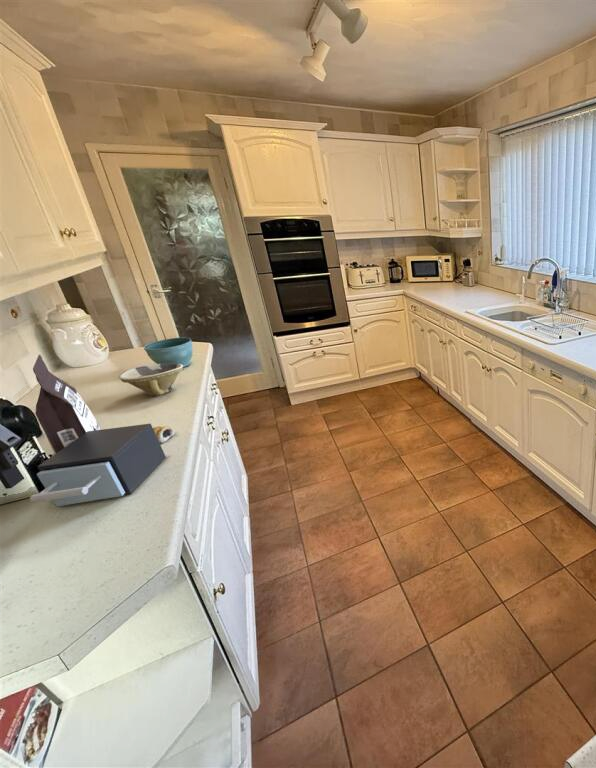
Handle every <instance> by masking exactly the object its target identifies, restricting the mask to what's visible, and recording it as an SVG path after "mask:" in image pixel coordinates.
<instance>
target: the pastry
mask: <svg viewBox="0 0 596 768" xmlns="http://www.w3.org/2000/svg"><path fill="white" fill-rule="evenodd" d="M152 428H153V430H154V432H155V434H156V436H157V439H158V441H159V443H160V444H164V443H165V442H166V441H168V440H169V439H170V438H172V436H174V435H175V434H176V430H175V429H174V427H172V426H169V425H166V426H159V425H158V426H155V427H152Z"/></svg>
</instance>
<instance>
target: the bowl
mask: <svg viewBox="0 0 596 768" xmlns="http://www.w3.org/2000/svg"><path fill="white" fill-rule="evenodd" d="M183 369H184V367H183V365H182V364H176V363H162V364H157V363H154V364H148V365H142V366H138V367H137V366H136V367H134V368H130V369H128V370H126V371H124V372H123V373H121V374H120V375H119V376H118V379H119V380H120V381H121V382H122V383H127V384H129V385H131V386H133V387H135V388H137V389H139V390H141V391H143V392H144V393H146V394H147V395H148V396H152V397H154V396H158V397H159V396H162V395H165V394H167V393H171V392H172V390H173V384H174V383H175V381H176V379H177V378H178V375H179V374H180V372H181V371H182V370H183Z"/></svg>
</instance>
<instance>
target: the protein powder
mask: <svg viewBox="0 0 596 768" xmlns="http://www.w3.org/2000/svg"><path fill="white" fill-rule="evenodd" d="M32 372H33V374H34V375H35V379H36V381H37V383H38V385H39V387H40V389H39V394H38V398H37V401H36V404H35V416H36V419H37V420H38V422H39V424H40V426H41V428H42V429H43V431H44V435H45V436H46V439H47V441H48V444H49V445H50V448H51V450H52V451H53V455H55V454H56V453H57V452H59V451H60V450H62V449H63V448H65V447H66V446H67V445H69V444H70V443H72V442H73V441H75V440H76V439H77V438H79V437H80V436H82V435H83V434H85V433H86V432H87V431H95V430H102V428H101V426H100V425H99V422H98V421H97V419H96V418H95V416H94V414H93V413H92V411H91V409H90V408H89V406H88V405H87V404H86V402H85V401H84V399H83V398H82V396H81V395H80V394H79V393H78V390H77V388H75V387H74V386H72V385H70V384H69V383H68V382H66V381H65V380H63V379H61V378H60V377H57V375H55V374H53V373H52V372H51V371H49V368H48V367H47V364H46V363H45V361H44V360H43V357H42V355H41V354H38V356H37V358H36V360H35V363H34V365H33V367H32Z"/></svg>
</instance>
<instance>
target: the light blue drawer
mask: <svg viewBox="0 0 596 768" xmlns="http://www.w3.org/2000/svg"><path fill="white" fill-rule="evenodd" d="M51 469H52V470H46V471H40V470H39V471H38V472H37V473H36V476H37V478H38V479H39V481H40V483H41V484H42V485H43V487H44V489H43V490H42V491H39V493H35V494H31V495H30V497H29V500H30V501H29V502H31V503H40V502H44V501H53V503H54V505H55V506H56V507H60V506H68V505H73V504H81V503H86V502H93V501H99V500H100V501H101V500H106V499H111V498H117V497H123V496H125V495H124V494H125V491H124V488H123V486H122V484H121V482H120V480H119V478H118V476H117V475H116V473H115V471H114V469H113V467H112V465H111V463H110V461H109V460H107V461H100V462H92V463H85V464H78V465H71V466H64V467H57V468H51Z"/></svg>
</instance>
